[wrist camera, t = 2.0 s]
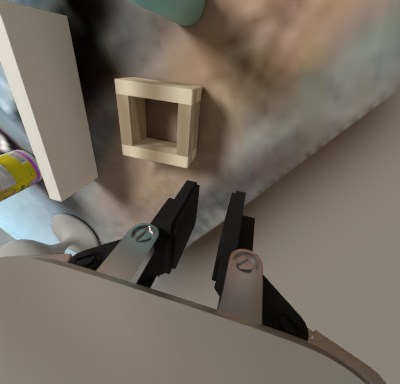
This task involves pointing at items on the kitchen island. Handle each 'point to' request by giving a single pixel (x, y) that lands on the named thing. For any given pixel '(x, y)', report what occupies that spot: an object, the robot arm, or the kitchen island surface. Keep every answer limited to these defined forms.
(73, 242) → the chalice
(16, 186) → the supplement bottle
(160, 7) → the dowel
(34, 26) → the wall
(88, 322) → the robot arm
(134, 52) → the kitchen island surface
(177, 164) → the light wooden square frame
